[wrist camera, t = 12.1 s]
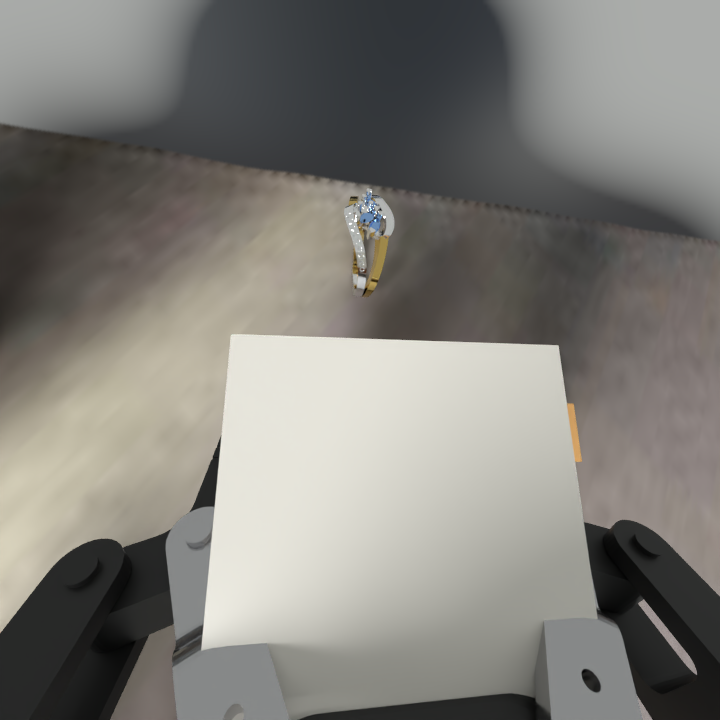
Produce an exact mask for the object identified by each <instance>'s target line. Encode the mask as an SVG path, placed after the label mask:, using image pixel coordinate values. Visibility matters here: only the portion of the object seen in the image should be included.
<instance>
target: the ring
mask: <svg viewBox="0 0 720 720" xmlns="http://www.w3.org/2000/svg"><path fill="white" fill-rule="evenodd" d="M344 215H345V219H346V223H347V226H348V228H349V231H350V234H351V237H352V240H353V244H354V249H353V267H352V289H353V296H356V297H364V298H367V297H369V296H370V295H371V293H372V292H373V290H374V289H375V287H376V285H377V282H378V280H379V277H380V274H381V271H382V268H383V264H384V260H385V256H386V251H387V245H388V238H389V236H390V235H391V234H392V232H393V229H394V217H393V214H392V211H391V210H390V208H389V206H388V205H387V204H386V202H385V201H384V200H383V199H382V198H381V197H380V196H379V195H372V190H371V189H369V188H367V192H366V194H363V195H362V201H359V196H351V197H350V200H349V206H347V207H346V208H345V210H344ZM381 220H382V223H383V230H382V231H378V230H379V228H380V222H381ZM365 229H366V231H367V235H366V237H367V240H369V239H372V237H373V238H374V239H375V253H374V260H373V265H372V269H371V272H370V275H369V278H368V280H367V282H366V256H365V250H364V245H363V242H364V231H365ZM365 283H366V284H365Z"/></svg>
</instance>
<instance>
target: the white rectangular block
mask: <svg viewBox="0 0 720 720" xmlns="http://www.w3.org/2000/svg"><path fill="white" fill-rule="evenodd" d="M569 618H591V619H598V618H597V611H596V604H595V597H594V590H593V583H592V576H591V569H590V562H589V555H588V548H587V541H586V534H585V527H584V520H583V513H582V506H581V499H580V492H579V485H578V478H577V471H576V464H575V457H574V450H573V444H572V437H571V430H570V423H569V416H568V409H567V402H566V395H565V388H564V381H563V374H562V367H561V360H560V353H559V346H558V345H532V344H503V343H474V342H445V341H416V340H387V339H358V338H329V337H300V336H271V335H242V334H231V341H230V351H229V362H228V372H227V383H226V393H225V404H224V414H223V425H222V436H221V446H220V457H219V467H218V478H217V488H216V499H215V509H214V520H213V531H212V541H211V552H210V562H209V573H208V583H207V594H206V604H205V615H204V626H203V636H202V647H201V651H203V650H207V649H211V648H217V647H225V646H235V645H248V644H260V643H267V645H268V648H269V651H270V655H271V658H272V662H273V665H274V668H275V672H276V675H277V679H278V682H279V685H280V689H281V692H282V696H283V699H284V702H285V706H286V709H287V713H288V716H289V719H290V720H298V719H301V718H304V717H307V716H310V715H313V714H321V713H330V712H339V711H348V710H357V709H367V708H376V707H385V706H394V705H404V704H413V703H422V702H432V701H441V700H450V699H460V698H469V697H478V696H487V695H497V694H508V693H513V694H520V695H526V696H530V697H533V698H536V697H535V676H534V672H535V667H536V661H537V656H538V650H539V645H540V639H541V634H542V628H543V623H544V621H545V620H557V619H569ZM243 718H244V713H239V714H237V715H236V716H235V717H234V718H233V719H232V720H243Z"/></svg>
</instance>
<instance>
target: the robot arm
mask: <svg viewBox="0 0 720 720" xmlns="http://www.w3.org/2000/svg"><path fill="white" fill-rule="evenodd" d="M221 436H222V435H221ZM220 446H221V437H220V440H219V442H218V445H217V448H216V450H215V452H214V455H213V459H212V460H211V463H210V465H209V468H208V470H207V473H206V475H205V478H204V480H203V483H202V485H201V488H200V490H199V493H198V495H197V498H196V501H195V503H194V505H193V507H192V509H191V511H190V512H189V513H188V514H186V515H185V516H183V517H182V518H181V519H180V520H179V521H178V522H177V523H176V524H175V525H174V527H173V528H172V529H171V530H169V531H167V532H165V533H163V534H161V535H159V536H156V537H153V538H150V539H147V540H144V541H141V542H138V543H135V544H132V545H129V546H126V547H123V548H122V546H121V545H120V544H119V543H118V542H117V541H114V540H112V539H98V540H93V541H90V542H87V543H85V544H83V545H81V546H79V547H77V548H75V549H73V550H72V551H70V552H69V553H67V554H66V555H65V556H64V557H62V558H61V559H60V560H59V561H58V562H57V563H56V564H55V565H54V566H53V567H52V568H51V570H50V571H49V572H48V573H47V574H46V576H45V577H44V578H43V580H42V581H41V582H40V583H39V585H38V586H37V587H36V589H35V590H34V591H33V592H32V594H31V595H30V596H29V597H28V599H27V600H26V601H25V603H24V604H23V605H22V606H21V608H20V609H19V610H18V611H17V613H16V614H15V615H14V617H13V618H12V619H11V620H10V622H9V623H8V624H7V625H6V627H5V628H4V629H3V631H2V632H1V633H0V720H110V718H111V716H112V714H113V712H114V709H115V707H116V705H117V703H118V701H119V699H120V696H121V694H122V692H123V690H124V688H125V686H126V684H127V681H128V679H129V677H130V675H131V673H132V671H133V668H134V666H135V664H136V662H137V660H138V658H139V656H140V653H141V651H142V649H143V647H144V645H145V643H146V640H147V638H148V636H149V634H152V633H154V632H156V631H159V630H161V629H163V628H165V627H168V626H170V625H172V624H174V628H175V637H176V648H175V650H174V652H173V658H172V670H173V683H174V693H175V703H176V713H177V720H232V719H233V718H234V717H235V716H236V715H237V714H239V713H244V718H243V720H290V719H289V716H288V713H287V709H286V706H285V702H284V699H283V696H282V692H281V689H280V685H279V682H278V679H277V675H276V672H275V668H274V665H273V662H272V658H271V655H270V651H269V648H268V645H267V643H260V644H248V645H235V646H225V647H217V648H211V649H207V650H203V651H201V647H202V636H203V626H204V615H205V604H206V594H207V583H208V573H209V562H210V552H211V541H212V531H213V520H214V509H215V499H216V488H217V478H218V467H219V457H220ZM584 527H585V534H586V541H587V548H588V555H589V562H590V569H591V576H592V583H593V590H594V597H595V604H596V611H597V618H598V619H591V618H569V619H557V620H545V621H544V623H543V628H542V634H541V639H540V645H539V650H538V656H537V661H536V667H535V672H534V676H535V697H536V698H533V697H530V696H526V695H520V694H513V693H508V694H497V695H487V696H478V697H469V698H460V699H450V700H441V701H432V702H422V703H413V704H404V705H394V706H385V707H376V708H367V709H357V710H348V711H339V712H330V713H321V714H313V715H310V716H307V717H304V718H301V719H298V720H643V719H642V715H641V711H640V707H639V703H638V699H637V696H638V697H639V699H640V700H641V702H642V704H643V705H644V707H645V708H646V710H647V711H648V713H649V714H650V716H651V718H652V719H653V720H720V596H719V595H718V594H717V593H716V592H715V591H714V590H713V589H712V588H711V587H710V586H709V585H708V584H707V583H706V582H705V581H704V580H703V579H702V578H701V577H700V576H699V575H698V574H697V573H696V572H695V571H694V570H693V569H692V568H691V567H690V566H689V565H688V564H687V563H686V562H685V561H684V560H683V559H682V558H681V557H680V556H679V555H678V554H677V553H676V552H675V551H674V550H673V548H672V547H671V546H670V545H669V544H668V543H667V542H666V541H665V540H663V539H662V538H661V537H660V536H659V535H658V534H656V533H655V532H654V531H652V530H651V529H649V528H647V527H646V526H644V525H642V524H639V523H637V522H634V521H630V520H620V521H618V522H616V523H615V524H614V525H613V526H612V528H611V529H607V528H604V527H600V526H596V525H593V524H589V523H585V522H584ZM643 599H644V600H645V601H646V602H647V603H648V605H649V606H650V607H651V608H652V610H653V611H654V612H655V613H656V615H657V616H658V617H659V618H660V620H661V621H662V622H663V623H664V625H665V626H666V627H667V628H668V630H669V631H670V632H671V633H672V635H673V636H674V637H675V638H676V640H677V641H678V642H679V643H680V645H681V646H682V647H683V648H684V650H685V651H686V652H687V653H688V655H689V656H690V658H691V659H692V661H693V663H694V665H695V667H696V670H697V675H696V674H694V673H693V672H692V671H691V670H690V669H689V668H688V667H687V666H686V665H685V664H684V662H683V661H682V660H681V659H680V657H679V656H678V655H677V653H676V652H675V651H674V650H673V648H672V647H671V646H670V645H669V643H668V642H667V641H666V639H665V638H664V637H663V636H662V634H661V633H660V632H659V630H658V629H657V628H656V627H655V625H654V624H653V623H652V621H651V620H650V619H649V618H648V616H647V615H646V614H645V612H644V611H643V610H642V609H641V607H640V606H639V605H638V603H639V602H640V601H642V600H643ZM636 694H637V695H636Z"/></svg>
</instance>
